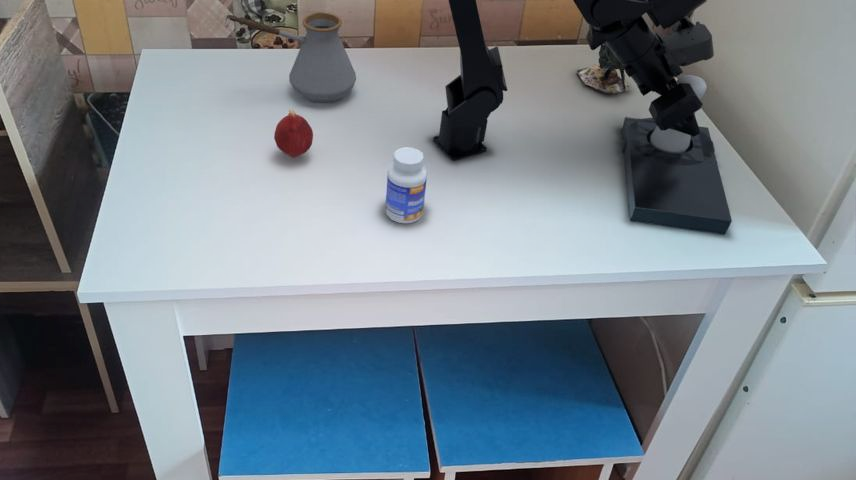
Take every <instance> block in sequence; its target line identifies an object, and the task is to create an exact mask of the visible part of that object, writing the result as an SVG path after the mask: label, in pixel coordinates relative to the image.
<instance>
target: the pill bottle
mask: <svg viewBox="0 0 856 480" xmlns="http://www.w3.org/2000/svg"><path fill="white" fill-rule="evenodd" d="M424 159H425V156H424V153H423V152H422V150H419V149H418V148H415V147H412V146H406V147H400V148H398V149H396V151H394V154H393V160H392V164H390V166H389V167H388V170H387V175H386V194H385V205H384V206H385V208H384V209H385V213H386V216H387V217H388V218H389V219H390V220H392V221H394V222H396V223H399V224H412V223H415V222H416V221H418V220H420V219H421V218H422V216H423V214H424V208H425V200H426V199H425V198H426V189H427V180H428V170H427V169H426V167H425V166H424V163H425V162H424Z"/></svg>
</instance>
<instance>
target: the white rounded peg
mask: <svg viewBox="0 0 856 480" xmlns="http://www.w3.org/2000/svg"><path fill="white" fill-rule="evenodd" d="M676 81H677V83H678V84H679V83H690V85H691V86H692V88H693V89H694V91H695V92H696V94H697V95H698V97H699V99H700V100H701V99H702V97H703V96H704V95H705V94H706V91H707V83H706V82H705V80H704V79H703V78H702V77H700V76H697V75H693V74H685V75H681V76H680V77H679V76H678V78H677V79H676ZM694 114H695V115H696V112H695V113H694ZM690 139H691V136H690V135H688V134H685V133H682V132H679V131H676V130H672V129H667V130H665V131H661V130H660V129H659V127H658V126H657V127H656V128H655V130H654V132H653V133H652V135H651V137H650V141H651V142H650V144H651V145H652V146H654V147H655V148H657V149H658V150H661V151H664V152H667V153H674V154H680V153H686V152H685V151H686V150H687V148H688V147H689V144H690Z"/></svg>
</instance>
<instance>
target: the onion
mask: <svg viewBox="0 0 856 480" xmlns="http://www.w3.org/2000/svg"><path fill="white" fill-rule="evenodd" d="M273 139H274V141H275V144H276V147H277V148H278V149H279V151H281V152H282V153H283V154H284V155H286V156H288V157H291V158H297V157H300V156H302V155H304V154H306V153H307V152H308V151H309V150H310V149H311V147H312V145H313V140H314V131H313V128H312V127H311V125H310V124H309V122H308V120H307V119H306V118H304V117H303V116H302V115H299V114H297V113H296V112H295V111H294V110H293V109H289V110H288V114H287V115H285V116H284V117H283V118H281V119H280V120H279V121H278V123H277V124H276V127H275V130H274V135H273Z"/></svg>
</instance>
